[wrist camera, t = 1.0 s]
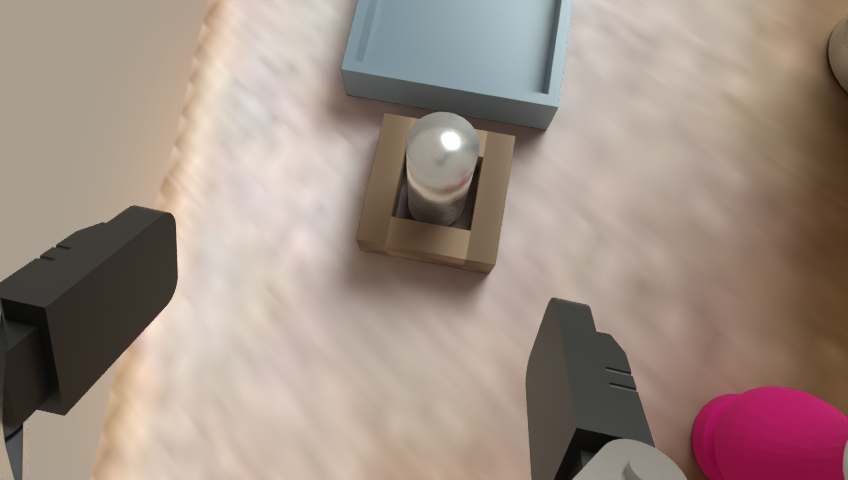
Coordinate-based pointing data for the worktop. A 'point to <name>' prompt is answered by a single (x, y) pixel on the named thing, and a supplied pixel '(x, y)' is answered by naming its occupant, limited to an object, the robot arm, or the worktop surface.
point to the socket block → (426, 239)
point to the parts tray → (461, 56)
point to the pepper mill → (771, 437)
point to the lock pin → (440, 166)
